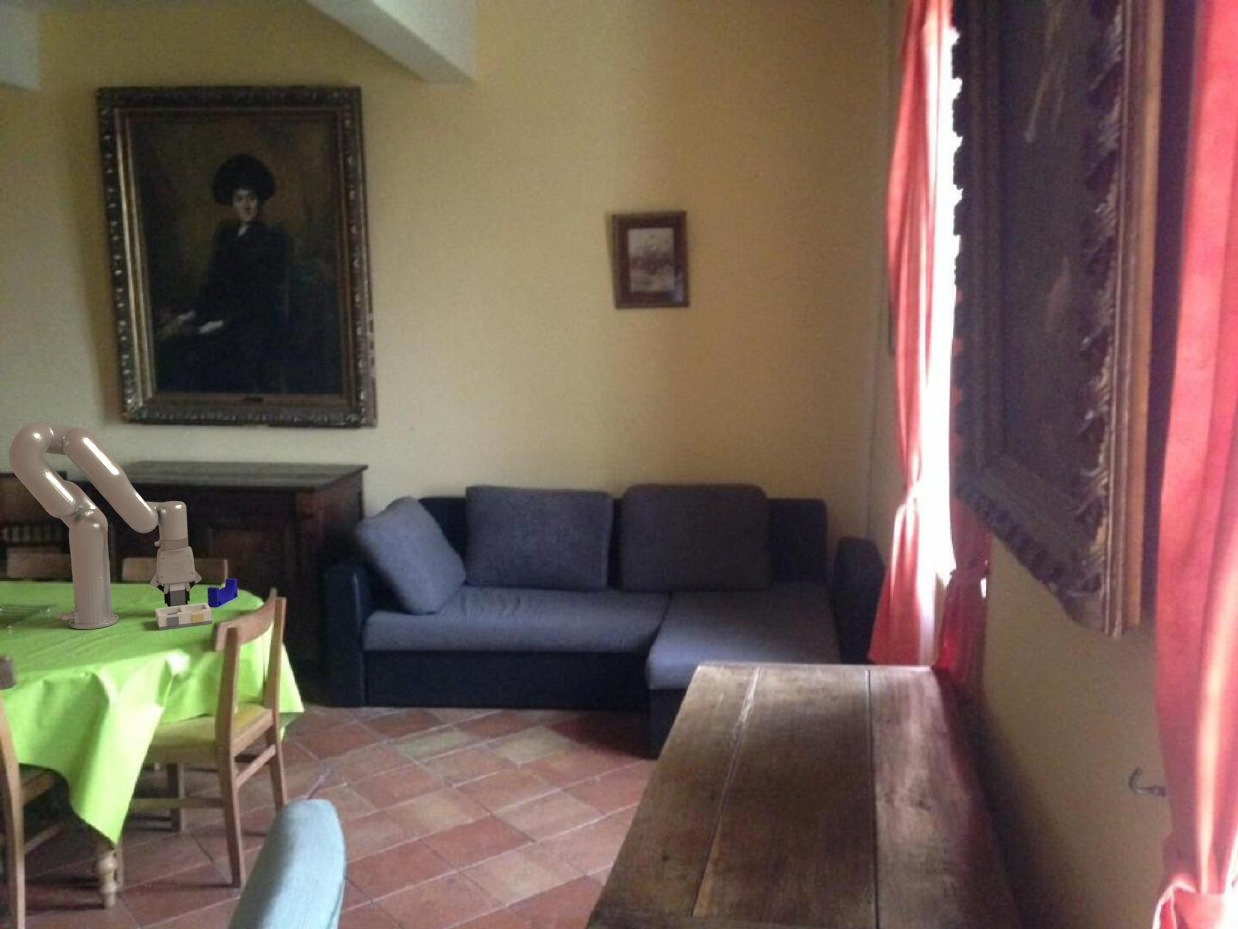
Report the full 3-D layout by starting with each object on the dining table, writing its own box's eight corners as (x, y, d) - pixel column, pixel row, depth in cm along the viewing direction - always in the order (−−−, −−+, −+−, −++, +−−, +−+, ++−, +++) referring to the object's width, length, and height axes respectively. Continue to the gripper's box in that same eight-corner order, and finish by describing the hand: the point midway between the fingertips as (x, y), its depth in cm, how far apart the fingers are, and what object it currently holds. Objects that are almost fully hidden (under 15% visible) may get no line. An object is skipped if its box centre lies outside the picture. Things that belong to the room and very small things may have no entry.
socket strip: (159, 630, 297) (158, 616, 297) (155, 622, 305) (154, 607, 305) (212, 623, 304) (211, 609, 304) (207, 615, 312) (206, 601, 312)
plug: (171, 617, 310) (169, 584, 308) (169, 614, 313) (168, 581, 312) (186, 616, 312) (184, 582, 310) (184, 612, 315) (182, 579, 314)
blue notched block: (224, 596, 333) (223, 577, 332) (237, 597, 332) (236, 578, 332) (203, 607, 321) (202, 587, 321) (217, 608, 321) (216, 588, 320)
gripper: (144, 549, 302) (147, 611, 305) (206, 543, 310) (209, 604, 313) (141, 544, 308) (145, 605, 311) (202, 538, 317) (205, 598, 319)
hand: (177, 604), depth 312 cm, fingers closed on plug, 4 cm apart
